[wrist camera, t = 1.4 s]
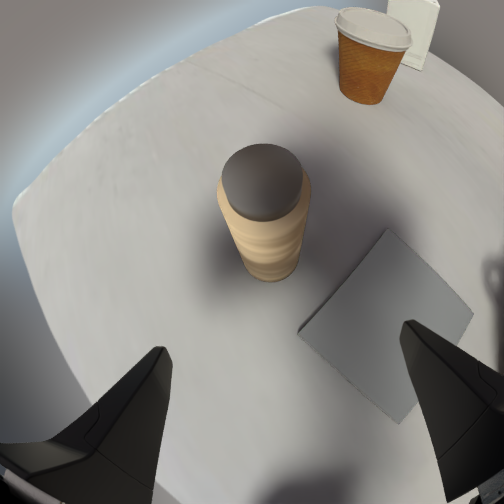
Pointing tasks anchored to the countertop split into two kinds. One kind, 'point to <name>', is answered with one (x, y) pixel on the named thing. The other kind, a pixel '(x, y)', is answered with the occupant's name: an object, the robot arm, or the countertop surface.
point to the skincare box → (416, 26)
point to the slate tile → (384, 322)
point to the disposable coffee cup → (369, 52)
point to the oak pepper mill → (265, 208)
